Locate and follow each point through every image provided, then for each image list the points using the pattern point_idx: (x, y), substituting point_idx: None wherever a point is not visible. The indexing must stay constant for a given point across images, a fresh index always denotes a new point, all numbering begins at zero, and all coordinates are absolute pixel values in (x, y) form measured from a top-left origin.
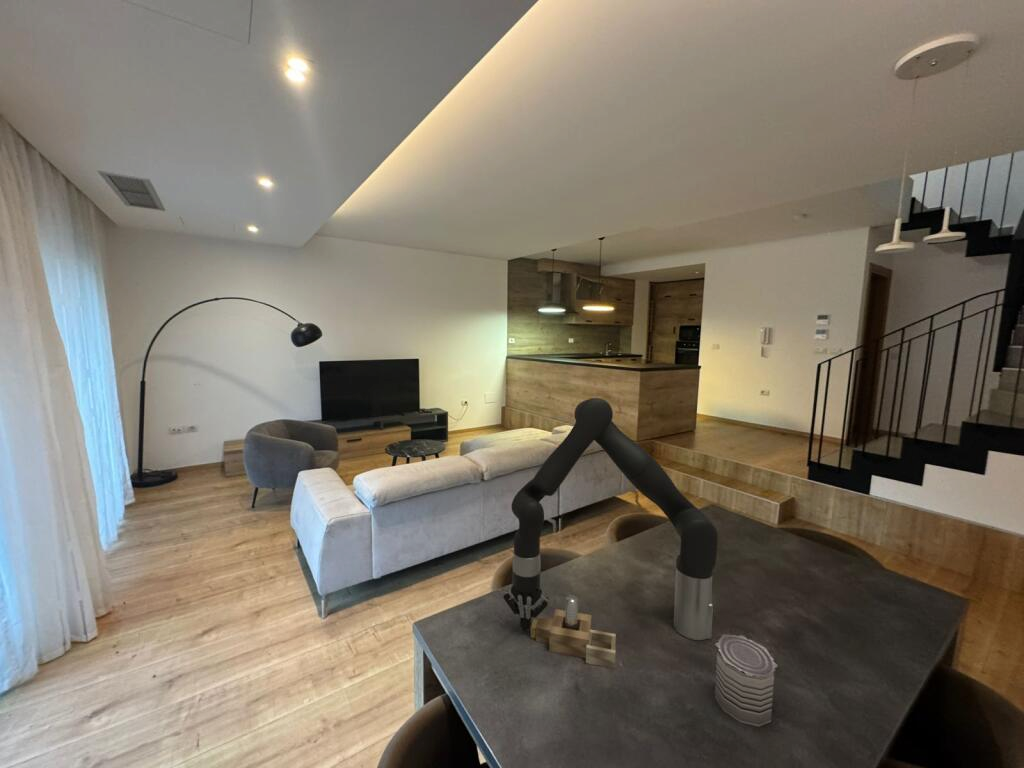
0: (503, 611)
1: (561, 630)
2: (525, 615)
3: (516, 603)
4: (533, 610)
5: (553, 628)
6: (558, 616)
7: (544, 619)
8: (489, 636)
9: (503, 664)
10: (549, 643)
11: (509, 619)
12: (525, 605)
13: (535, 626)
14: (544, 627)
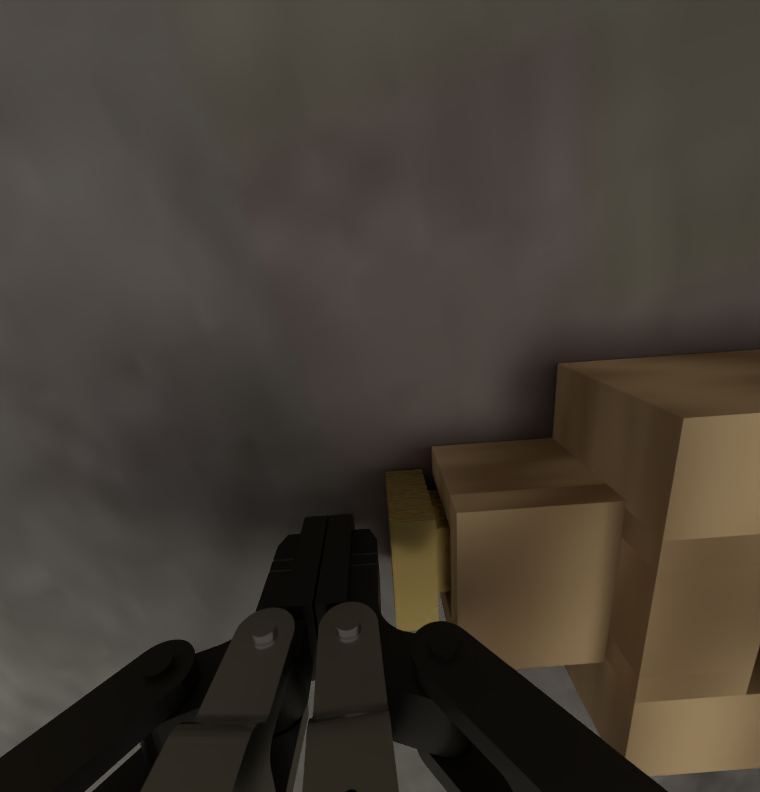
0: (24, 325)
1: (743, 725)
2: (310, 640)
3: (105, 771)
4: (417, 714)
5: (660, 728)
6: (721, 547)
7: (520, 546)
8: (104, 629)
9: (302, 768)
10: (567, 668)
11: (140, 416)
12: (269, 728)
13: (434, 604)
14: (536, 644)
